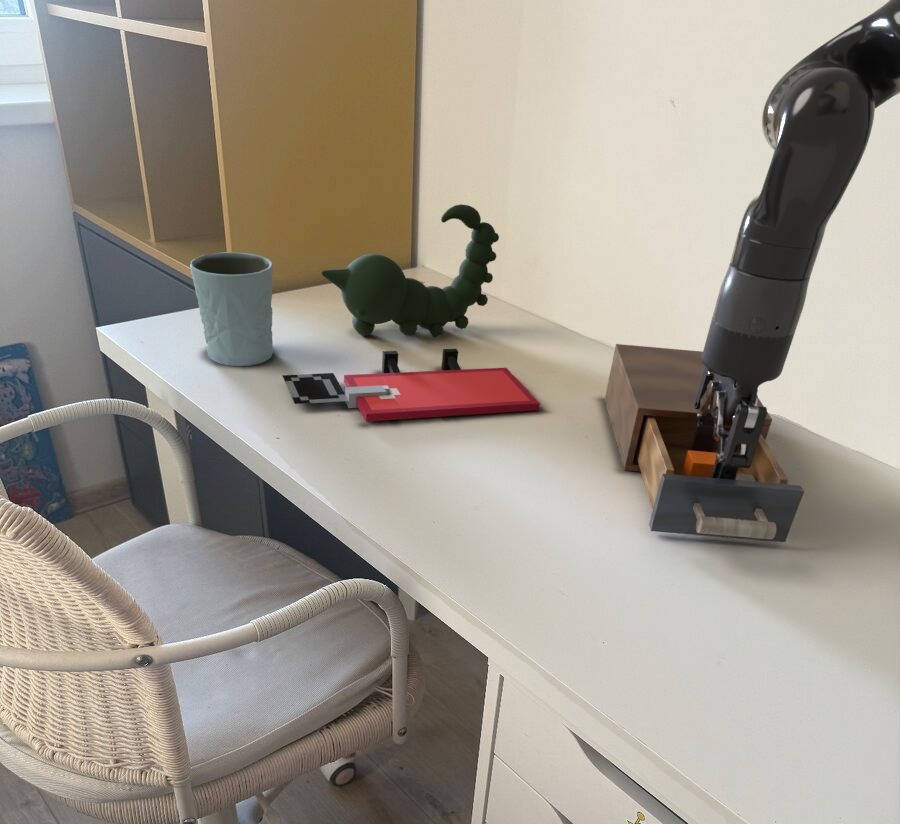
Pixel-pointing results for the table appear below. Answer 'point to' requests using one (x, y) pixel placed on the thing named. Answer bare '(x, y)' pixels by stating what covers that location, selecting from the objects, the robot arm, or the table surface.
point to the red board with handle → (417, 390)
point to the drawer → (712, 488)
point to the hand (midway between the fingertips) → (707, 475)
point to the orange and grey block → (705, 465)
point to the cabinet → (652, 392)
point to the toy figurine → (417, 285)
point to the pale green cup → (235, 306)
